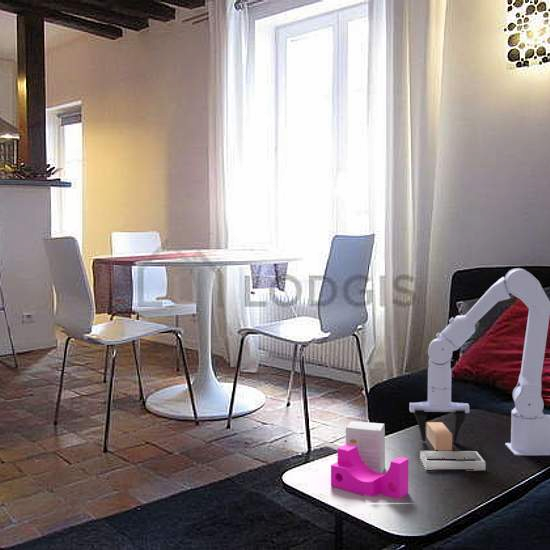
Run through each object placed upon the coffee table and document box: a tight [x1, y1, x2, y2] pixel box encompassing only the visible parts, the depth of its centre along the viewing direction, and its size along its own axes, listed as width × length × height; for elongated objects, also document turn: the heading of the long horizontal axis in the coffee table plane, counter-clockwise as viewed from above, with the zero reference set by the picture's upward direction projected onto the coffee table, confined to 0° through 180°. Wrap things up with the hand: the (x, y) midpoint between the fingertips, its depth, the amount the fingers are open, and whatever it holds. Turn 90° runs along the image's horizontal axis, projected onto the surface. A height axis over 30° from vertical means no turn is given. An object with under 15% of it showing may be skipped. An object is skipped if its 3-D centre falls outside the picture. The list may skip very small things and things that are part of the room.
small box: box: [345, 420, 386, 473], centre depth 145 cm, size 8×6×10 cm
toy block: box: [330, 443, 409, 500], centre depth 135 cm, size 15×6×8 cm, turn 51°
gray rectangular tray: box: [419, 450, 486, 471], centre depth 147 cm, size 13×7×2 cm, turn 88°
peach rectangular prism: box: [426, 421, 453, 451], centre depth 161 cm, size 4×10×5 cm, turn 179°
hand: (438, 440), depth 161 cm, fingers open, 7 cm apart
